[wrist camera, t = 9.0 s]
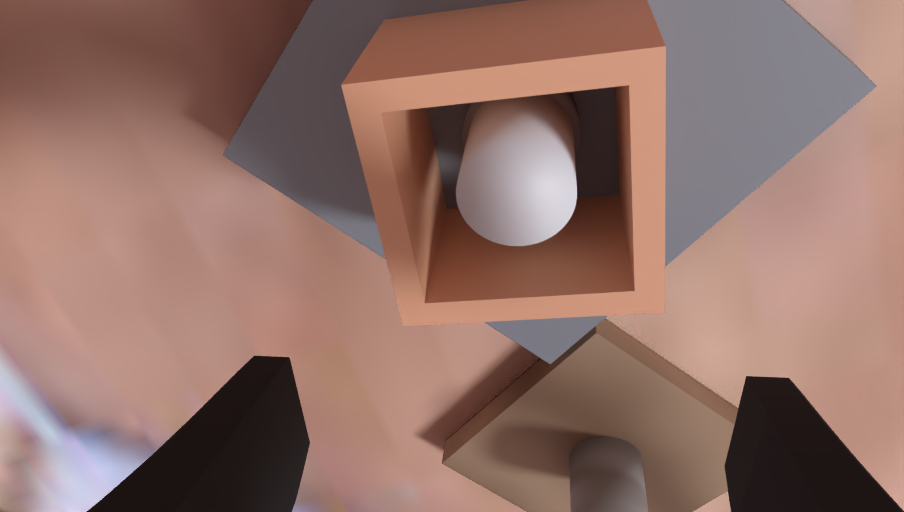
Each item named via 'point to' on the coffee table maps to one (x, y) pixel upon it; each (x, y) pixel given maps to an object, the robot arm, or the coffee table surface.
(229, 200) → the coffee table surface
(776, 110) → the square peg base
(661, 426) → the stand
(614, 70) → the collar
